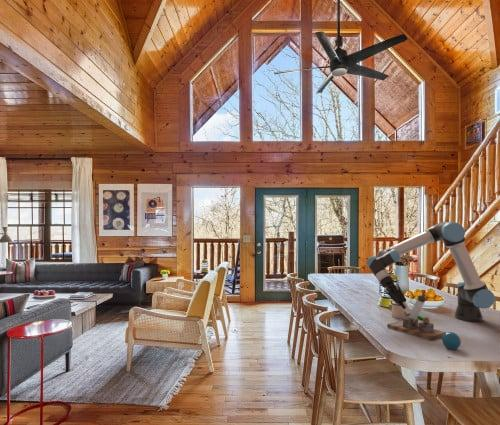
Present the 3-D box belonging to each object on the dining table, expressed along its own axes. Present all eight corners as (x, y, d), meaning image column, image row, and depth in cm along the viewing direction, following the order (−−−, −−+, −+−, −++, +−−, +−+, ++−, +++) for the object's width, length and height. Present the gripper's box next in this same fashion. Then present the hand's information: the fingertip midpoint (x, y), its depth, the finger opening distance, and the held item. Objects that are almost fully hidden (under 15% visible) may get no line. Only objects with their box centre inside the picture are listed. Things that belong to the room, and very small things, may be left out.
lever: (404, 321, 194) (418, 293, 188) (408, 320, 197) (422, 293, 190) (410, 326, 191) (424, 298, 185) (414, 325, 194) (428, 297, 187)
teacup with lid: (408, 319, 216) (407, 300, 216) (392, 318, 218) (392, 299, 218) (404, 314, 227) (404, 296, 228) (389, 313, 230) (389, 296, 230)
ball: (442, 350, 163) (442, 333, 163) (441, 345, 170) (440, 328, 170) (462, 353, 160) (462, 335, 160) (459, 347, 167) (459, 330, 167)
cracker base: (387, 327, 198) (387, 311, 198) (401, 323, 206) (401, 308, 206) (431, 340, 176) (431, 322, 177) (446, 335, 184) (445, 318, 184)
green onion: (429, 322, 212) (391, 308, 240) (429, 317, 212) (391, 304, 240) (423, 323, 210) (386, 309, 238) (424, 318, 210) (386, 304, 238)
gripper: (387, 281, 214) (412, 315, 199) (374, 283, 207) (398, 318, 192) (395, 274, 210) (421, 308, 195) (381, 276, 203) (407, 311, 188)
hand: (409, 313), depth 194 cm, fingers closed
